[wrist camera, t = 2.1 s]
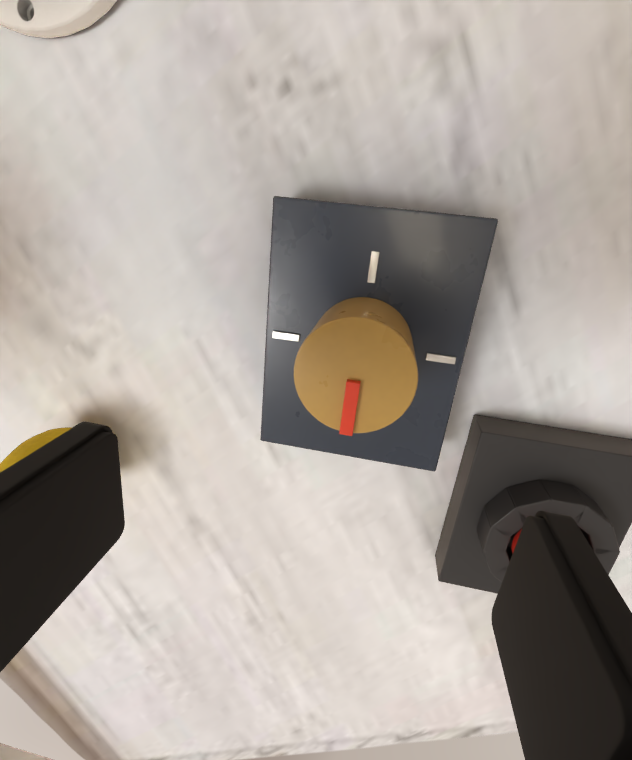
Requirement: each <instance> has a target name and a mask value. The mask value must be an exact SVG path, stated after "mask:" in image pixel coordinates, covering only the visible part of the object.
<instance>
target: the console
mask: <svg viewBox="0 0 632 760" xmlns="http://www.w3.org/2000/svg"><path fill="white" fill-rule="evenodd" d="M497 223H498V219H495V218H486V217H476V216H466V215H456V214H446V213H436V212H426V211H417V210H407V209H397V208H387V207H377V206H367V205H358V204H348V203H338V202H328V201H318V200H308V199H298V198H289V197H279V196H275V197H274V198H273V216H272V235H271V254H270V273H269V292H268V310H267V329H266V348H265V367H264V386H263V405H262V424H261V440H262V441H267V442H272V443H278V444H284V445H289V446H295V447H300V448H306V449H312V450H317V451H323V452H328V453H334V454H340V455H345V456H351V457H357V458H362V459H368V460H373V461H379V462H385V463H390V464H396V465H401V466H407V467H413V468H418V469H424V470H429V471H435V470H436V467H437V463H438V459H439V455H440V451H441V447H442V443H443V439H444V435H445V431H446V427H447V423H448V419H449V415H450V411H451V407H452V403H453V399H454V395H455V391H456V387H457V383H458V379H459V375H460V371H461V367H462V363H463V359H464V355H465V351H466V347H467V343H468V339H469V335H470V331H471V327H472V323H473V319H474V315H475V311H476V307H477V303H478V299H479V295H480V291H481V287H482V283H483V279H484V275H485V271H486V267H487V263H488V259H489V255H490V251H491V247H492V243H493V239H494V235H495V231H496V227H497ZM356 297H368V298H374V299H377V300H380V301H383V302H385V303H387V304H389V305H390V306H392V307H393V308H395V309H396V310H397V311H398V312H399V313H400V314H401V315H402V317H403V318H404V319H405V321H406V322H407V324H408V327H409V329H410V332H411V335H412V340H413V346H414V351H415V357H416V362H417V368H418V385H417V390H416V393H415V396H414V398H413V401H412V403H411V404H410V406H409V407H408V409H407V410H406V411H405V413H404V414H403V415H402V416H401V417H400V418H398V419H397V420H396V421H395V422H393V423H392V424H390V425H388V426H386V427H384V428H382V429H379V430H377V431H372V432H367V433H353V435H352V436H348V435H342V434H339V430H336V429H333V428H331V427H329V426H326V425H325V424H323V423H321V422H320V421H318V420H317V419H316V418H315V417H314V416H312V415H311V413H310V412H309V411H308V410H307V409H306V408H305V406H304V405H303V403H302V402H301V400H300V398H299V396H298V393H297V391H296V387H295V383H294V364H295V359H296V356H297V353H298V351H299V349H300V347H301V345H302V344H303V342H304V340H305V339H306V338H307V336H308V335H309V334H310V332H311V331H312V330H313V328H314V327H315V325H316V324H317V323H318V321H319V320H320V319H321V317H322V316H323V315H324V314H325V312H327V311H328V310H329V309H330V308H331V307H333V306H334V305H335V304H337V303H339V302H341V301H344V300H347V299H350V298H356Z"/></svg>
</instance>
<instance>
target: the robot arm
mask: <svg viewBox="0 0 632 760" xmlns="http://www.w3.org/2000/svg"><path fill="white" fill-rule="evenodd" d="M116 1H117V0H0V25H1V26H3V27H5V28H8V29H10V30H13V31H16V32H18V33H21V34H24V35H26V36H33V37H41V38H55V37H62V36H68V35H72V34H74V33H76V32H78V31H81V30H83V29H85V28H87V27H90V26H91V25H92V24H93V23H95V22H96V21H97V20H98V19H100V18H101V17H102V16H103V15H105V14H106V13H107V12H108V11H109V10H110V9H111V7H112V6H113V5H114V4H115V2H116ZM124 524H125V521H124V510H123V498H122V487H121V475H120V464H119V452H118V441H117V437H116V435H115V434H113V433H112V430H111V429H110V427H108V426H104V425H99V424H94V423H89V422H82V423H80V424H78V425H76V426H75V427H73V428H71V429H70V430H68V431H66V432H65V433H63V434H62V435H60V436H58V437H57V438H55V439H54V440H52V441H50V442H49V443H47V444H45V445H44V446H42V447H41V448H39V449H37V450H36V451H34V452H33V453H31V454H29V455H28V456H26V457H24V458H23V459H21V460H20V461H18V462H16V463H15V464H13V465H12V466H10V467H8V468H7V469H5V470H3V471H2V472H0V672H1V671H2V670H3V669H4V668H5V667H6V665H7V664H8V663H9V662H10V661H11V660H12V659H13V658H14V656H15V655H16V654H17V653H18V652H19V651H20V650H21V649H22V647H23V646H24V645H25V644H26V643H27V642H28V641H29V640H30V638H31V637H32V636H33V635H34V634H35V633H36V632H37V631H38V629H39V628H40V627H41V626H42V625H43V624H44V623H45V621H46V620H47V619H48V618H49V617H50V616H51V615H52V614H53V612H54V611H55V610H56V609H57V608H58V607H59V606H60V605H61V603H62V602H63V601H64V600H65V599H66V598H67V597H68V596H69V594H70V593H71V592H72V591H73V590H74V589H75V588H76V587H77V585H78V584H79V583H80V582H81V581H82V580H83V579H84V578H85V576H86V575H87V574H88V573H89V572H90V571H91V570H92V569H93V567H94V566H95V565H96V564H97V563H98V562H99V561H100V560H101V558H102V557H103V556H104V555H105V554H106V553H107V552H108V551H109V549H110V548H111V547H112V546H113V545H114V544H115V543H116V542H117V540H118V539H119V538H120V536H121V534H122V532H123V530H124ZM492 626H493V630H494V634H495V639H496V643H497V647H498V651H499V655H500V659H501V663H502V667H503V671H504V675H505V679H506V683H507V687H508V692H509V696H510V700H511V704H512V708H513V712H514V716H515V720H516V724H517V728H518V732H519V736H520V741H521V745H522V749H523V753H524V757H525V760H632V613H631V611H630V610H629V608H628V606H627V605H626V603H625V602H624V600H623V598H622V597H621V595H620V593H619V592H618V590H617V589H616V587H615V585H614V584H613V582H612V580H611V579H610V577H609V576H608V574H607V572H606V571H605V569H604V567H603V566H602V564H601V563H600V561H599V559H598V558H597V556H596V554H595V553H594V551H593V550H592V548H591V546H590V545H589V543H588V541H587V540H586V538H585V536H584V535H583V533H582V532H581V530H580V528H579V527H578V525H577V523H576V522H575V520H574V519H573V518H572V517H570V516H567V515H562V514H557V513H551V512H546V511H538V512H537V513H536V515H535V516H528V517H527V518H526V520H525V522H524V525H523V527H522V530H521V533H520V535H519V538H518V541H517V544H516V546H515V549H514V552H513V554H512V557H511V560H510V562H509V565H508V568H507V571H506V573H505V576H504V579H503V581H502V584H501V587H500V589H499V592H498V595H497V598H496V600H495V603H494V606H493V609H492ZM0 760H53V759H49V758H47V757H43V756H40V755H37V754H34V753H30V752H27V751H24V750H21V749H18V748H14V747H11V746H8V745H5V744H1V743H0Z"/></svg>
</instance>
